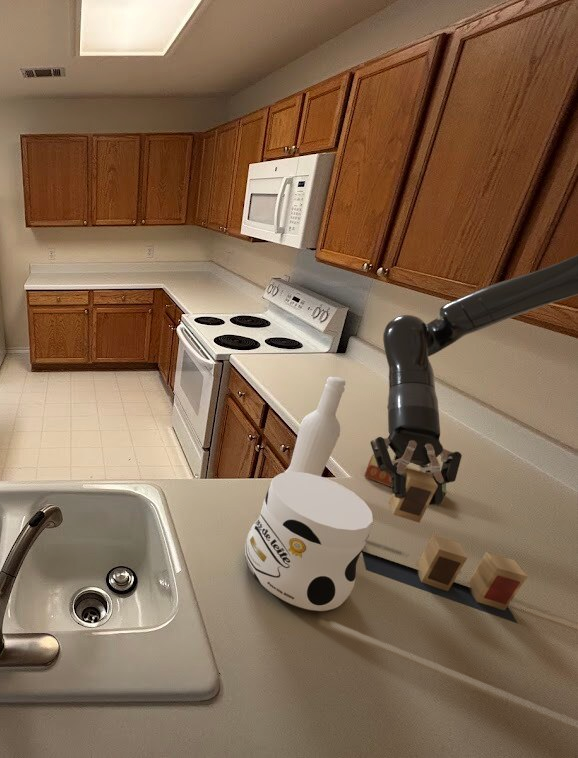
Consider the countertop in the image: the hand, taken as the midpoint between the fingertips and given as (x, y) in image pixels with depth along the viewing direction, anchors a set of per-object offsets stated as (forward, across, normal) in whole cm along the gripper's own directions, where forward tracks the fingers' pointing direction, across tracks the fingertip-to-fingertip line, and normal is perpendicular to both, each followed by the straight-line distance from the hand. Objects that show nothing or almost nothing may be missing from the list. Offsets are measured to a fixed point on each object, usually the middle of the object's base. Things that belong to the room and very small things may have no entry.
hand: (417, 500), depth 72 cm
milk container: (+18, -18, +6) cm, 26 cm away
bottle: (-3, -11, +27) cm, 30 cm away
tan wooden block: (+2, 0, +4) cm, 5 cm away
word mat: (+12, +8, +12) cm, 18 cm away
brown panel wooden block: (+11, +8, +11) cm, 18 cm away
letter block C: (+12, +16, +10) cm, 22 cm away
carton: (-14, +17, +37) cm, 43 cm away
